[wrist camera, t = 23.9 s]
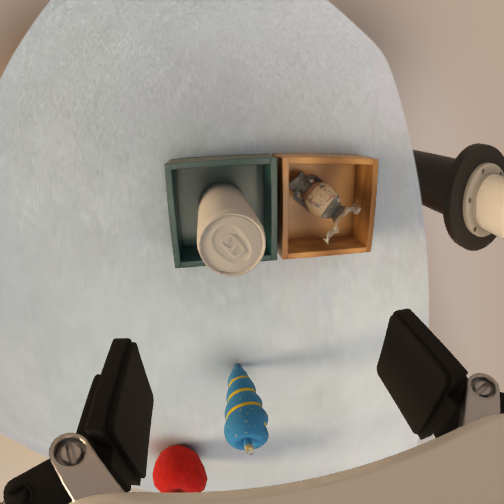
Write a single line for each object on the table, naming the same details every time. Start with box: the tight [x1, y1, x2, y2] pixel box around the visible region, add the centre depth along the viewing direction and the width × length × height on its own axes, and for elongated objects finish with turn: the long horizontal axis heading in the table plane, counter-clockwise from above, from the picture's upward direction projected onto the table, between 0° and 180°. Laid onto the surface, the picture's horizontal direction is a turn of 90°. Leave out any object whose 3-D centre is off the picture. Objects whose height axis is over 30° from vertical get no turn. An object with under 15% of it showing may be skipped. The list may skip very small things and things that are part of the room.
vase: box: [289, 171, 361, 244], centre depth 30 cm, size 5×5×6 cm
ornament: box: [224, 364, 268, 455], centre depth 34 cm, size 5×5×15 cm
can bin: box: [165, 154, 277, 268], centre depth 30 cm, size 10×10×5 cm
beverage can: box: [197, 183, 266, 276], centre depth 26 cm, size 5×5×12 cm
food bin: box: [272, 153, 378, 259], centre depth 32 cm, size 10×10×5 cm
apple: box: [153, 445, 207, 493], centre depth 43 cm, size 10×10×11 cm
